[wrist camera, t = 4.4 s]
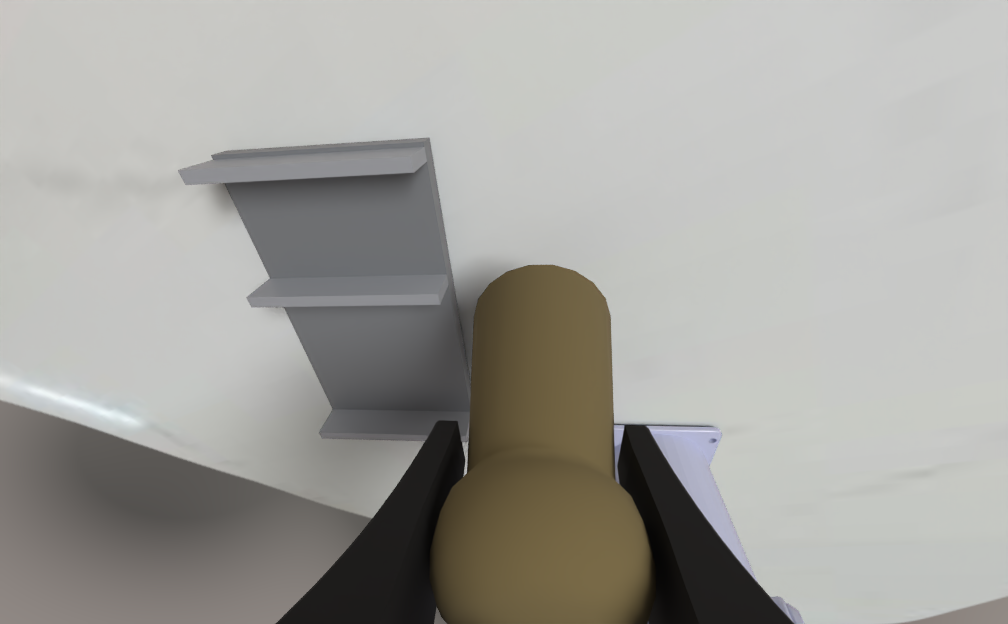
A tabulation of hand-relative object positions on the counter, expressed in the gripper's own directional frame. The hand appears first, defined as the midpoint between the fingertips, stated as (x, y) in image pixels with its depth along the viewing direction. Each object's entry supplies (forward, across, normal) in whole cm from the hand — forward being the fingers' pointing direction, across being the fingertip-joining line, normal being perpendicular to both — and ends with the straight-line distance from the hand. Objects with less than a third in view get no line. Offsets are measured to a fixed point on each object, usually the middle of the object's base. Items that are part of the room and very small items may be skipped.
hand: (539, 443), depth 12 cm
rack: (+10, +10, +2) cm, 14 cm away
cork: (+6, 0, 0) cm, 6 cm away
